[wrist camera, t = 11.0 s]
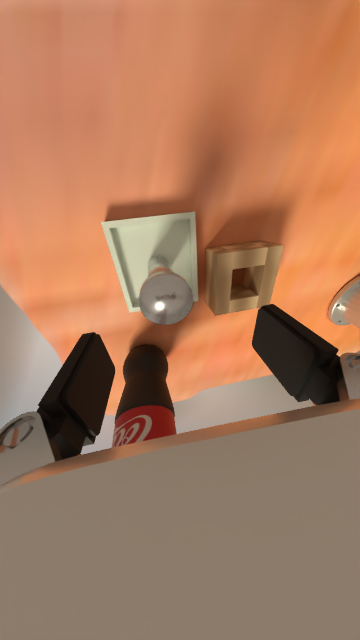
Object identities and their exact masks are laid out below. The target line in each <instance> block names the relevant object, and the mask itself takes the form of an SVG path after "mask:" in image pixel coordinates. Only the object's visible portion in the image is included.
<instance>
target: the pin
mask: <svg viewBox="0 0 360 640" xmlns="http://www.w3.org/2000/svg"><path fill="white" fill-rule="evenodd" d="M192 305H193V293H192V290H191V288H190V287H189V285H188V283H187V282H186V280H185V279H184V278H183V277H182V276H180V275H179V274H177V273H174V272H173V270H172V268H171V266H170V264H169V262H168V260H167V259H166V258H165V257H164V256H161V255H155V256H153V257H151V258H150V260H149V261H148V278H147V279H146V280H145V281H144V282H143V284H142V286H141V289H140V294H139V306H140V309H141V311H142V313H143V315H144V316H145V317H146V318H147V319H148V320H150V321H152V322H154V323H156V324H160V325H170V324H174V323H177V322H179V321H181V320H182V319H184V318H185V317H186V316H187V315H188V313H189V312H190V310H191V308H192Z"/></svg>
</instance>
